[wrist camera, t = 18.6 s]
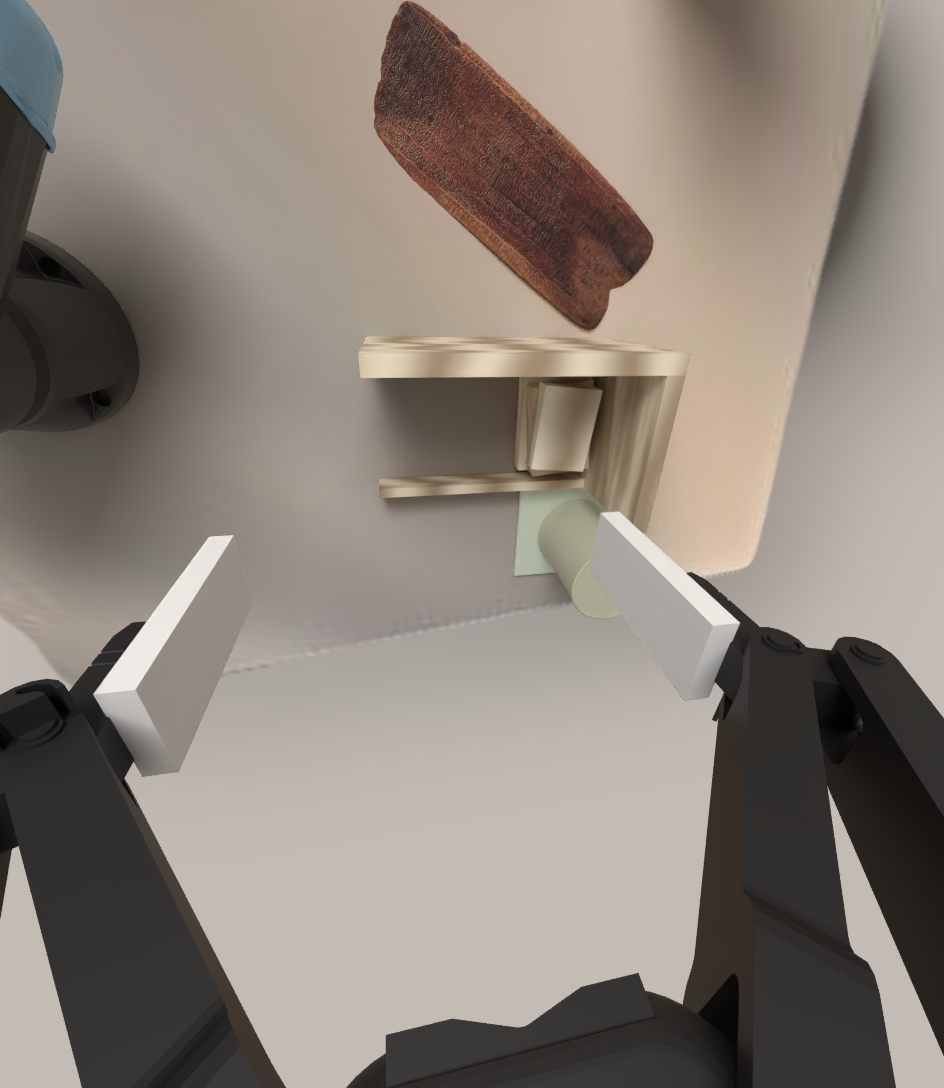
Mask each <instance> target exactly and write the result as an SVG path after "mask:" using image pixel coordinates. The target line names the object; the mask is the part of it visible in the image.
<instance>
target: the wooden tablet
mask: <svg viewBox="0 0 944 1088" xmlns="http://www.w3.org/2000/svg"><path fill="white" fill-rule="evenodd" d="M386 40H387V42H386V46H385V49H384V52H383V55H382V58H381V60H382V66H381V81H380V82H379V83H378V87H377V91H376V95H375V100H374V110H375V121H374V127H375V130H376V132H377V134H378V136H379V138H380V139H381V140H382V142H383V143H384V145H385V146H386V148H387V149H388V151H389V152H390V153H391V154H392V155H393V157H394V158H395V160H396V161H397V162H398V163H399V165H400V166H401V167H402V168H403V169H404V170H405V171H406V172H407V174H408V175H409V176H410V177H411V178H412V179H413V180H414V181H415V182H416V183H417V184H418V185H419V186H420V187H421V188H422V189H423V190H425V191H426V192H427V193H428V194H429V195H431V196H432V197H433V198H434V199H435V200H436V202H437V203H438V204H440V205H441V206H442V207H443V208H444V209H445V210H446V211H447V212H449V213H450V214H451V215H452V216H453V217H454V218H456V219H457V220H458V221H459V222H461V223H462V224H463V225H464V226H465V227H466V228H468V229H469V230H470V231H471V232H472V233H473V234H474V235H476V236H477V237H478V238H479V239H480V240H481V241H482V242H483V243H484V244H485V245H487V246H488V247H489V248H490V249H491V250H492V251H493V252H494V253H496V254H497V255H498V256H499V257H500V258H501V259H502V260H503V261H504V262H506V263H507V264H508V265H509V266H510V267H511V268H512V269H513V270H514V271H516V272H517V273H518V274H519V275H520V276H521V277H523V278H524V279H525V280H526V281H527V282H528V283H530V284H531V285H532V286H533V287H534V288H535V289H536V290H538V291H539V292H540V293H541V294H542V295H543V296H544V297H546V298H547V299H548V300H549V301H550V302H551V303H552V304H553V305H554V306H555V307H557V308H558V309H559V310H560V311H561V312H562V313H564V314H565V315H566V316H567V317H569V318H570V319H571V320H572V321H574V322H575V323H576V324H578V325H580V326H581V327H583V328H585V329H588V330H590V329H594V328H596V327H597V325H598V324H599V322H600V321H601V319H602V317H603V315H604V314H605V312H606V310H607V307H608V302H609V292H610V290H611V289H615V288H617V287H620V286H622V285H624V284H625V283H626V282H628V281H629V280H630V279H631V278H632V277H633V276H634V275H635V274H636V273H637V272H638V270H639V269H640V268H641V267H642V265H643V264H644V263H645V261H646V260H647V258H648V257H649V255H650V253H651V250H652V248H653V247H652V245H653V238H652V235H651V233H650V232H649V231H648V229H647V228H646V227H645V225H644V224H643V223H642V221H641V220H640V218H639V217H638V216H637V214H636V213H635V212H634V211H633V210H632V208H631V207H630V206H629V205H628V204H627V203H626V201H625V200H624V199H623V198H622V197H621V196H620V195H619V194H618V193H617V191H616V190H615V189H614V188H613V187H612V186H611V185H610V184H609V183H608V181H607V180H606V179H605V178H604V177H603V176H602V175H601V174H600V173H599V171H598V170H597V169H595V168H594V167H593V166H592V164H591V163H590V162H589V161H588V160H587V159H586V158H585V157H584V156H583V155H582V154H581V153H580V152H579V151H578V150H577V149H576V148H575V146H574V145H573V144H572V143H571V142H570V141H568V140H567V139H566V138H565V137H564V136H563V135H562V134H561V133H560V132H559V131H558V130H557V129H556V128H555V127H554V126H553V125H552V124H551V123H549V122H548V121H547V120H546V119H545V118H544V117H543V116H542V115H541V114H540V113H539V112H538V111H537V110H536V109H535V108H534V107H533V106H532V105H531V104H530V103H529V102H528V101H526V100H525V99H524V98H523V97H522V96H521V95H520V94H519V93H518V92H517V91H516V90H515V89H514V88H513V87H512V86H511V85H510V84H508V83H507V82H506V81H505V80H504V79H503V78H502V77H501V76H500V75H499V74H498V73H497V72H495V70H494V69H493V68H492V67H491V66H490V65H488V64H487V63H486V62H485V61H484V60H483V59H482V58H481V57H480V56H479V55H478V54H477V53H476V52H474V51H473V50H472V49H471V48H470V47H469V46H468V45H467V44H466V43H463V42H461V41H460V40H459V39H458V37H457V35H456V34H455V33H454V32H452V31H451V30H450V29H449V28H448V27H447V26H446V25H444V24H443V23H442V22H441V21H440V20H439V19H437V18H436V17H435V16H434V15H432V14H431V13H430V12H428V11H427V10H425V9H424V8H422V7H421V6H419V5H417V4H415V3H413V2H410V1H405V2H403V3H402V5H401V6H400V8H399V11H398V13H397V14H396V15H395V17H394V19H393V21H392V24H391V28H390V30H389V32H388V35H387V37H386Z"/></svg>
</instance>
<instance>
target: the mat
mask: <svg viewBox="0 0 944 1088" xmlns="http://www.w3.org/2000/svg"><path fill="white" fill-rule="evenodd" d="M580 499H581V500H588V501H592V502H594V503H596V504H597V505H599V506H600V507H601V508H602V509H603V510H604V512H608V511H607V510H606V509H605V508H604V507H603V506H602V505H601V504H600V503H599V502H598V501H597V500H596V499H595V498H594V497H593V496H592V495H591V494H589V493H588V492H587V491H586V490H585V489H584V488H567V489H548V490H528V491H520V494H519V506H518V519H517V532H516V544H515V557H514V569H513V575H514V576H519V575H531V574H543V573H555V570H554V569H553V567H552V566H551V564H550V563H549V561H548V559H547V558H546V557H545V556H544V555H543V554H542V552H541V550H540V548H539V545H538V532H539V528H540V526H541V524H542V522H543V520H544V519H545V517H546V516H547V515H548V514H549V513H550V512H551V511H552V510H553V509H554V508H556V507H557V506H559V505H561V504H563V503H565V502H568V501H571V500H580Z"/></svg>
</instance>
